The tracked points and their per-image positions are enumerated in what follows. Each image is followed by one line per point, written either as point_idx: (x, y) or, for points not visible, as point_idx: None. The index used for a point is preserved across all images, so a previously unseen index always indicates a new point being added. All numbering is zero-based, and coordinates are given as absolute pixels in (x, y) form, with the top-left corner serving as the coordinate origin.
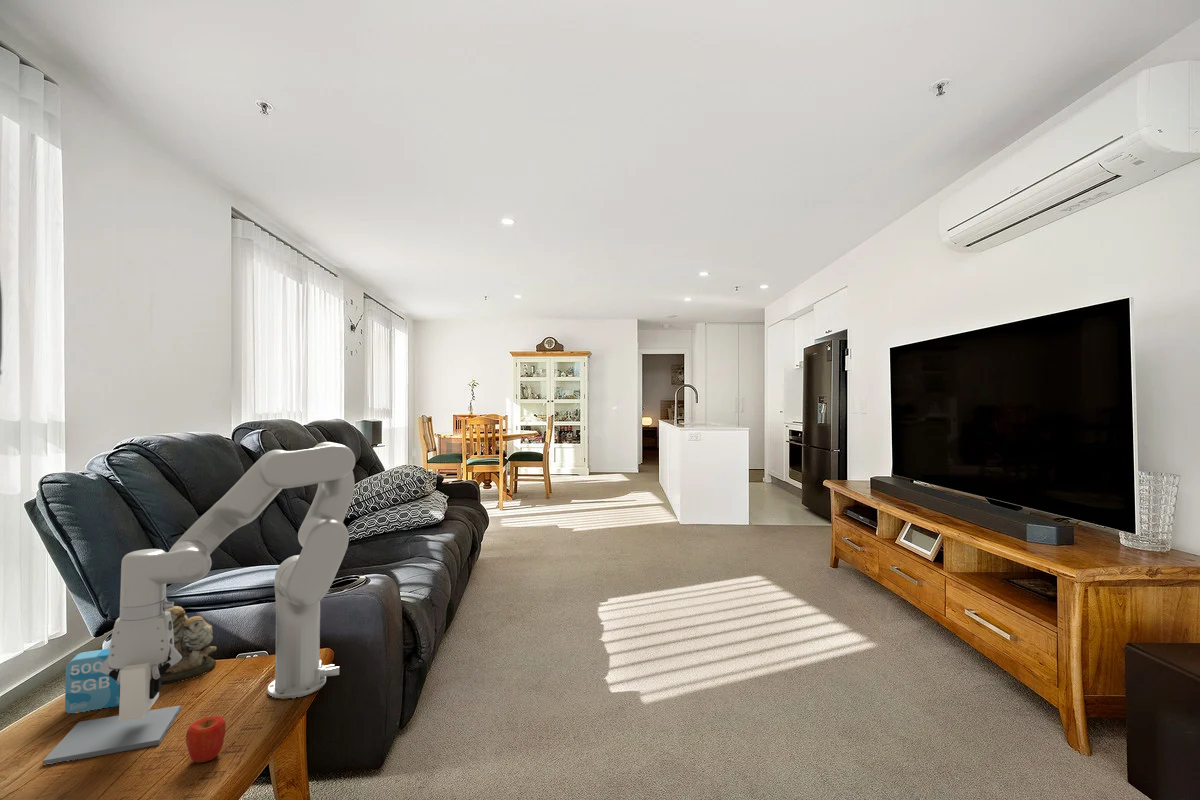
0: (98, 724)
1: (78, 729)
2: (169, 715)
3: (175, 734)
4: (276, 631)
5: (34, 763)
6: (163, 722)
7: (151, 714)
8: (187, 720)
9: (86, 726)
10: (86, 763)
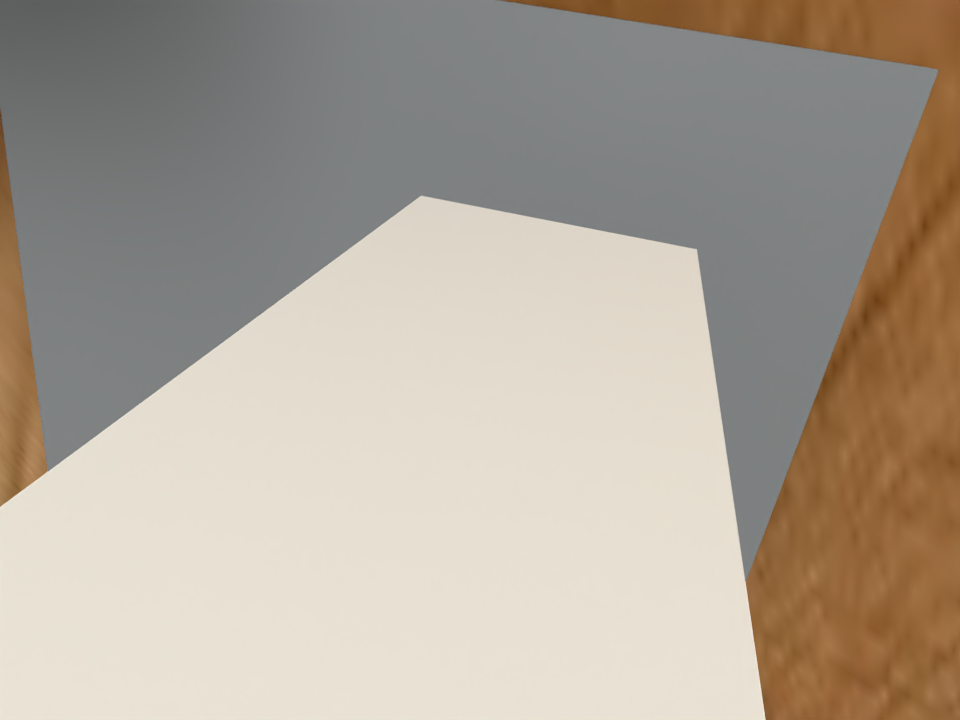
0: (179, 100)
1: (53, 116)
2: (796, 287)
3: (825, 574)
4: None
5: (12, 413)
6: (738, 413)
7: (620, 152)
8: (950, 381)
9: (92, 86)
10: None
